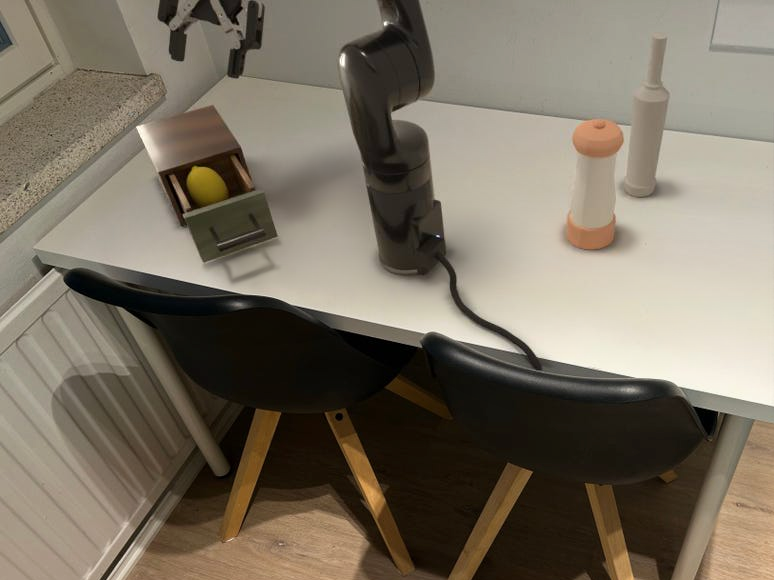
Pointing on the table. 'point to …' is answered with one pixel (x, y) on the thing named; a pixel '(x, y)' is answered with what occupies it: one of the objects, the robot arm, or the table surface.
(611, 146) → the pepper shaker
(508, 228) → the table surface
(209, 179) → the lemon
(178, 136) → the cabinet
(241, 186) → the drawer
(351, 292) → the table surface
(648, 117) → the bottle
